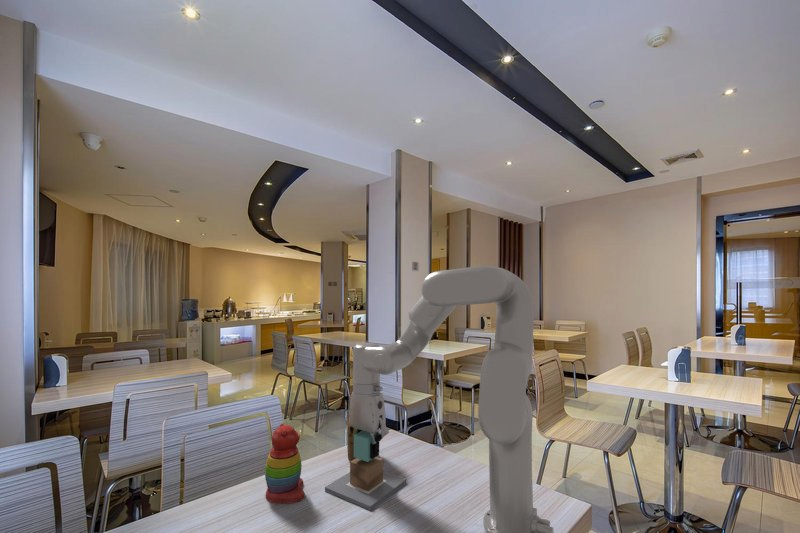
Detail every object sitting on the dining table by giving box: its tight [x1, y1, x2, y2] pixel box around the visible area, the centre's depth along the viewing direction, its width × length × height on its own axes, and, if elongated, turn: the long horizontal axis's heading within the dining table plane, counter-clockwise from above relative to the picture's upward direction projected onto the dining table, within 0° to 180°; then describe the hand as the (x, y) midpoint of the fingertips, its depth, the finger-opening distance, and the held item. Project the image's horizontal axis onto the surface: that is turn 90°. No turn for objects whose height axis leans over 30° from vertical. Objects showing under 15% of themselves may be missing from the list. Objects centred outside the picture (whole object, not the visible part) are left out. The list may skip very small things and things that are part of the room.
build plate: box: [324, 470, 407, 511], centre depth 103 cm, size 16×16×1 cm
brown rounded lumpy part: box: [346, 393, 363, 462], centre depth 122 cm, size 11×8×20 cm
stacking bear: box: [264, 422, 306, 504], centre depth 101 cm, size 11×10×18 cm
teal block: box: [354, 431, 376, 462], centre depth 104 cm, size 5×5×6 cm
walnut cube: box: [349, 456, 384, 491], centre depth 103 cm, size 6×6×6 cm
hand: (366, 453), depth 104 cm, fingers closed on teal block, 5 cm apart
